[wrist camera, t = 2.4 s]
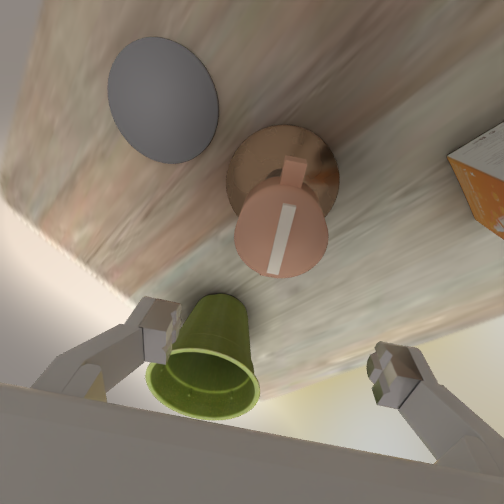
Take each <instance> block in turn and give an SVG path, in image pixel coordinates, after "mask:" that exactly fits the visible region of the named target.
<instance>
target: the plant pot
mask: <svg viewBox="0 0 504 504" xmlns="http://www.w3.org/2000/svg"><path fill="white" fill-rule="evenodd" d="M145 378H146V383H147V385H148V388H149V390H150V391H151V393H152V394H153V395H154V396H155V398H156V399H157V400H159V401H160V402H161V403H162V404H163V405H165V406H166V407H168V408H170V409H172V410H173V411H176V412H178V413H180V414H183V415H185V416H189V417H192V418H197V419H203V420H226V419H232V418H235V417H239V416H241V415H243V414H245V413H247V412H248V411H250V410H251V409H252V408H253V407H254V406H255V405H256V403H257V401H258V399H259V396H260V386H259V383H258V380H257V378H256V376H255V375H254V368H253V363H252V361H251V352H250V339H249V327H248V315H247V312H246V309H245V307H244V305H243V304H242V303H241V302H240V301H239V300H237V299H236V298H234V297H232V296H229V295H226V294H216V295H207V296H205V297H203V298H202V299H201V300H200V301H199V302H198V303H197V305H196V306H195V308H194V309H193V311H192V312H191V314H190V315H189V317H188V318H187V320H186V321H185V323H184V324H183V326H182V327H181V329H180V331H179V334H178V337H177V340H176V342H174V343H173V344H172V352H171V354H170V356H169V359H168V361H167V363H166V365H164V364H158V363H152V362H151V363H150V364H149V366H148V367H147V370H146V375H145Z"/></svg>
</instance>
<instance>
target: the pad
mask: <svg viewBox="0 0 504 504" xmlns="http://www.w3.org/2000/svg"><path fill="white" fill-rule="evenodd" d="M108 100H109V106H110V110H111V113H112V116H113V119H114V121H115V123H116V125H117V127H118V129H119V130H120V132H121V134H122V135H123V136H124V138H125V139H126V140H127V141H128V142H129V144H130V145H131V146H132V147H134V148H135V149H136V150H137V151H138V152H140V153H141V154H143V155H144V156H146V157H148V158H150V159H152V160H155V161H158V162H162V163H168V164H176V163H182V162H186V161H189V160H191V159H193V158H194V157H196V156H197V155H199V154H200V153H201V152H202V151H203V150H204V149H205V148H206V147H207V146H208V145H209V143H210V142H211V140H212V138H213V136H214V134H215V131H216V128H217V124H218V117H219V105H218V98H217V92H216V89H215V86H214V83H213V81H212V79H211V76H210V75H209V73H208V71H207V69H206V68H205V66H204V65H203V64H202V62H201V61H200V60H199V59H198V58H197V57H196V56H195V55H194V54H193V53H192V52H191V51H189V50H188V49H187V48H185V47H184V46H182V45H180V44H178V43H176V42H174V41H171V40H168V39H164V38H159V37H146V38H142V39H138V40H136V41H134V42H132V43H130V44H129V45H127V46H126V47H125V48H124V49H123V50H122V51H121V52H120V53H119V54H118V56H117V57H116V59H115V61H114V63H113V65H112V67H111V70H110V74H109V79H108Z"/></svg>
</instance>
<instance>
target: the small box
mask: <svg viewBox="0 0 504 504" xmlns="http://www.w3.org/2000/svg"><path fill="white" fill-rule="evenodd" d="M447 159H448V161H449V162H450V164H451V166H452V168H453V170H454V172H455V174H456V176H457V179H458V181H459V183H460V185H461V187H462V190H463V192H464V194H465V196H466V199H467V201H468V203H469V206H470V208H471V211H472V213H473V215H474V218H475V220H477V221H478V222H479V223H481V224H482V225H484V226H485V227H486V228H488V229H489V230H491V231H492V232H493V233H495V234H496V235H498V236H499V237H501V238H502V239H503V240H504V122H503V123H501V124H499V125H498V126H496V127H494V128H493V129H491V130H489V131H488V132H486V133H484V134H483V135H481V136H479V137H478V138H476V139H474V140H473V141H471V142H469V143H468V144H466V145H464V146H463V147H461V148H459V149H458V150H456V151H454V152H453V153H451V154H449V155H448V156H447Z"/></svg>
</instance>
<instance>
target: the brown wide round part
mask: <svg viewBox="0 0 504 504" xmlns="http://www.w3.org/2000/svg"><path fill="white" fill-rule="evenodd" d="M285 155H287V156H292V157H297V158H302V159H306V161H307V168H306V172H305V175H304V179H303V182H304V183H305V184H307V185H308V186H309V187H310V188H311V189H312V190H313V191H314V192H315V194H316V196H317V197H318V200H319V202H320V206H321V209H322V212H323V215H324V218H325V217H326V215H327V214H328V213H329V211H330V210H331V208H332V206H333V205H334V202H335V200H336V198H337V194H338V190H339V170H338V166H337V162H336V160H335V158H334V155H333V153H332V152H331V150H330V149H329V147H328V146H327V145H326V144H325V142H324V141H323V140H322V139H321V138H319V137H318V136H317V135H316V134H314V133H313V132H311V131H309V130H307V129H305V128H302V127H299V126H295V125H274V126H270V127H266V128H263V129H261V130H259V131H257V132H255V133H254V134H252V135H251V136H249V137H248V138H247V139H246V140H245V141H244V142H243V143H242V144H241V145H240V146H239V148H238V149H237V151H236V152H235V154H234V155H233V157H232V159H231V161H230V164H229V167H228V171H227V176H226V189H227V194H228V198H229V201H230V204H231V206H232V208H233V210H234V211H235V213H236V214H237V216H238V217H239V215H240V212H241V209H242V206H243V204H244V201H245V198H246V197H247V195H248V193H249V192H250V191H251V190H252V189H253V188H254V187H255V186H256V185H257V184H259V183H260V182H262V181H264V180H266V179H269V178H272V177H279V176H281V172H282V168H283V163H284V159H285Z"/></svg>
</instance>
